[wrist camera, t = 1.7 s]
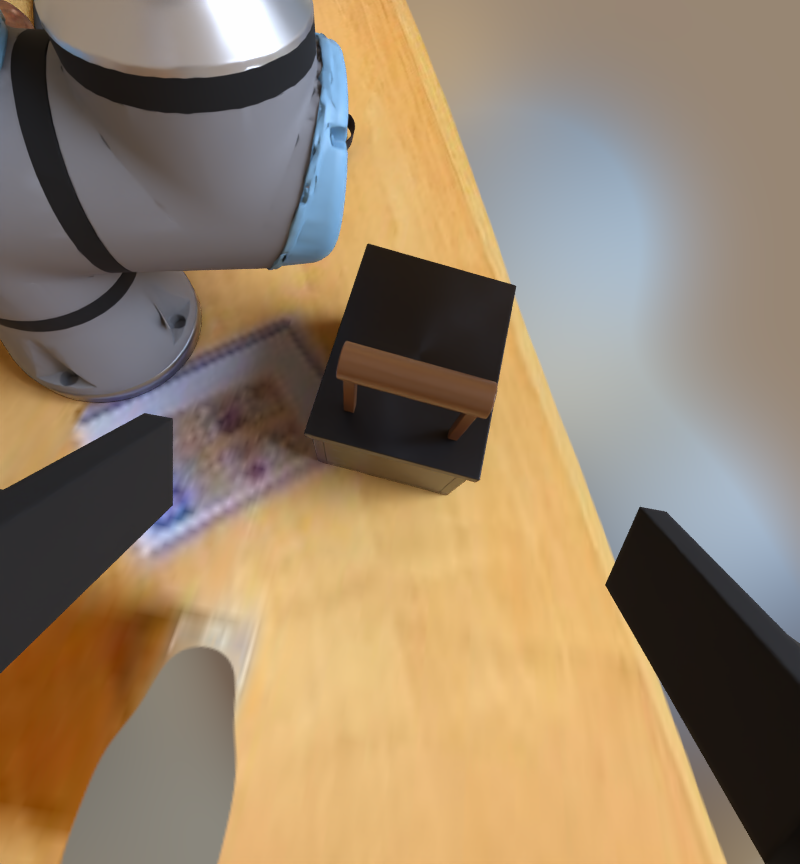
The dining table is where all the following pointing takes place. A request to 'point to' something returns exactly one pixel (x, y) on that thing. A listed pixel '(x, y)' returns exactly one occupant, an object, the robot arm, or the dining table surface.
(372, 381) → the bacon press
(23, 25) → the decorative turtle
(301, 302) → the dining table surface
